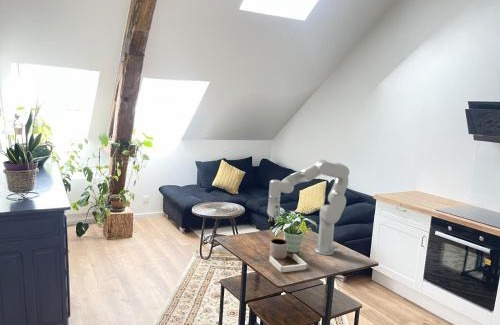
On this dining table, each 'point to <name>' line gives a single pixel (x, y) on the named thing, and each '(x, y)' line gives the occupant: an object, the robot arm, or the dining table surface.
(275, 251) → the planter
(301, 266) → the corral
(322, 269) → the dining table surface
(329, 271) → the dining table surface
